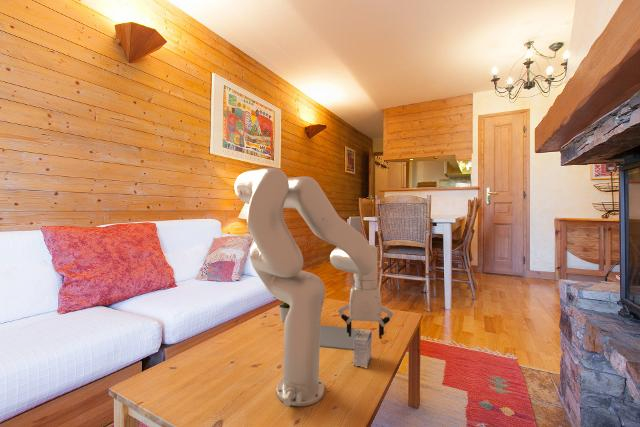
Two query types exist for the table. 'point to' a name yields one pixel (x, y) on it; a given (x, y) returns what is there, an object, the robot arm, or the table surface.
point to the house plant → (283, 310)
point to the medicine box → (362, 348)
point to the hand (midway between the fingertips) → (365, 335)
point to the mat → (337, 337)
